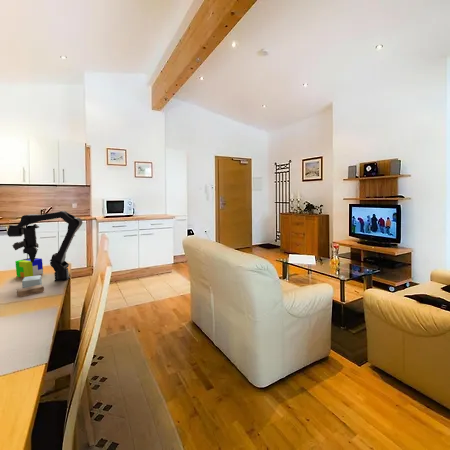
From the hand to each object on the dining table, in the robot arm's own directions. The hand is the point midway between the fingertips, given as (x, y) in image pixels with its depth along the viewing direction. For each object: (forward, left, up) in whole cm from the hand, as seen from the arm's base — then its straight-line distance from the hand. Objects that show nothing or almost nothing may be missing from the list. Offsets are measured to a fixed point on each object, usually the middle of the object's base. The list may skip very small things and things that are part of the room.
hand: (32, 262), depth 166 cm
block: (-4, +10, -12) cm, 16 cm away
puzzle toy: (+9, -14, -12) cm, 21 cm away
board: (-8, +22, -12) cm, 26 cm away
